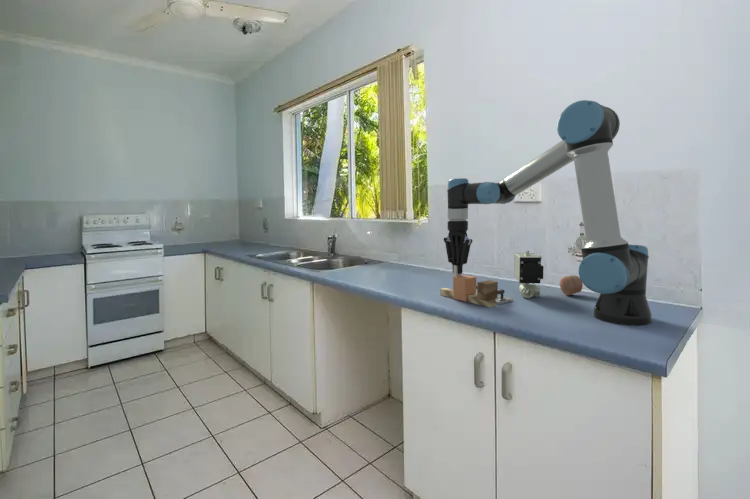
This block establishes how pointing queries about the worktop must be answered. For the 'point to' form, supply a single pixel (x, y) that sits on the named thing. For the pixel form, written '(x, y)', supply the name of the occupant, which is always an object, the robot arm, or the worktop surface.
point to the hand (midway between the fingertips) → (457, 281)
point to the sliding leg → (464, 286)
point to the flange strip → (501, 299)
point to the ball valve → (528, 273)
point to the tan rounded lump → (571, 284)
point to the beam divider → (480, 293)
